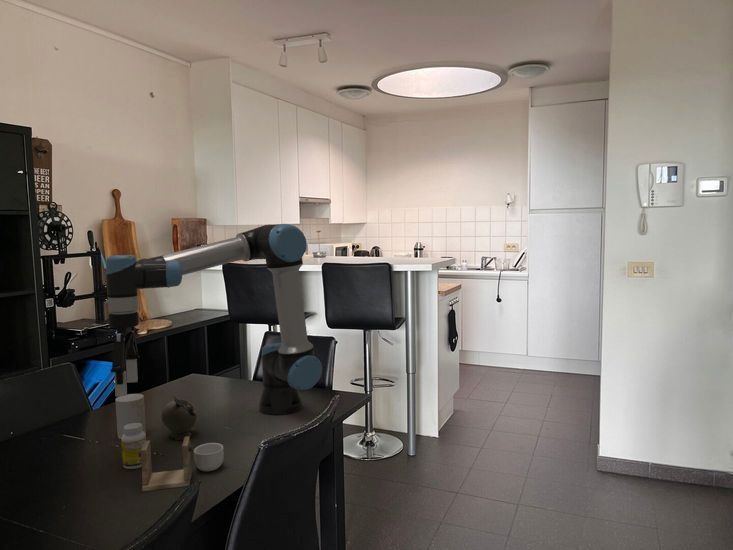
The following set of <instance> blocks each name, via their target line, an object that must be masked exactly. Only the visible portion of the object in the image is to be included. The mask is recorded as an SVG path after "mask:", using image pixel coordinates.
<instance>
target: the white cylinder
mask: <svg viewBox="0 0 733 550" xmlns="http://www.w3.org/2000/svg"><path fill="white" fill-rule="evenodd" d="M145 410H146V409H145V396H144V394H141V393H127V396H116V398H115V415H116V417H115V418H116V430H117V432H116V433H117V439H118V438H119V439H118V440H120V439H121V437H122V436H123V434H125V433H124V426H125V425H127V424H131V423H141V424H142V431H143V432H144V433H145V434H147V428H146V425H147V424H146V412H145Z"/></svg>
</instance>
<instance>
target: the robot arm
mask: <svg viewBox="0 0 733 550" xmlns="http://www.w3.org/2000/svg"><path fill="white" fill-rule="evenodd" d="M307 246H308V245H307V238H306V235H305V233H304V232H303V231H302V230H301V229H300V228H298V227H297V226H295V225H293V224H288V223H278V224H277V223H276V224H264V225H261V226H258V227H256V228H253V229H249V230H246V231H243V232H238V233H237V234H236V235H235V237H230V238H227V239H223V240H219V241H215V242H210V243H206V244H203V245H198V246H195V247H194V246H193V247H190V248H187V249H181V250H177V251H174V252H170V253H165V254H162V255H158V256H154V257H150V258H140V259H138V260H137V258H136V256H135V255H133V254H126V255H125V254H123V255H122V254H119V255H109V256H107V258H106V261H105V263H106V264H105V266H106V267H105V276H106V277H105V278H106V279H105V280H106V292H107V300H105V304H106V305H107V309H108V310H107V311H108V312H109V314H108V317H107V318H108V326H109V328H112V329H116V333H113V334H112V335H113V347H112V349H113V350H112V362H111V368H110V373H114V375H113V376H114V391H115V393H114V394H115V397H120V396H127V394H128V386H127V383H138V380H139V379H138V362H137V360H138V359H140V357H141V356H140V354H139V350H138V345H137V339H136V333H135V329H136V328H135V327H138V326H139V324H140V321H139V320H140V319H139V312H137V311H138V310H139V299H138V297H139V296H138V290H144V289H157V288H158V289H161V288H168V289H170V288H173V287H178V286H180V285H181V284H182V281H183V276H185V275H189V274H192V273H197V272H199V271H203V270H204V271H205V270H208V269H211V268H215V267H219V266H223V265H227V264H230V263H233V262H239V261H241V260H242V261H244V262H249V261H253V260H254V261H255V260H265V264H266V269H267V270H268V271H269V272H271V274H272V282H273V288H274V296H275V303H276V310H277V311H276V312H277V318H278V325H279V333H280V341H281V342H275V343H270V344H266V345H264V346H263V347H262V348H261V355H260V356H261V367H262V370H261V371H262V386H263V387H262V391H261V394H260V398H259V401H258V402H259V403H258V410H259V412H260V413H263V414H266V415H275V416H277V415H287V414H293V413H295V412H298V411H300V410H301V409H303V399H302V396H301V394H300V391H304V390H305V391H306V390H307V391H308V390H310V389H311V388H313V387H314V386H315V385H317V383H318V381H319V380H320V379H321V376H322V373H323V365H322V362H321V361H320V360H319V358H318V357H317V356H315V349H314V345H313V343H311V342H310V341H309V340H308V331H307V325H306V316H305V309H304V308H305V307H304V301H303V300H304V299H303V291H302V285H301V276H300V269H301V267H302V266H303V265H304V262H303V257H304V255H305V253H306V251H307Z"/></svg>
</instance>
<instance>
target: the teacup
mask: <svg viewBox="0 0 733 550" xmlns="http://www.w3.org/2000/svg"><path fill="white" fill-rule="evenodd" d="M224 453H225V449H224V445H223V444H221V443H218V442H208V443H203V444H200V445H198V446H196V447H195V448H193V458H194V459H193V460H194V463H195V466H196V467H197V468H198V469H199V470H200V471H203V472H214V471H215V470H218V469H219V467H221V466H222V464H223V461H224V458H225V457H224Z"/></svg>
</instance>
